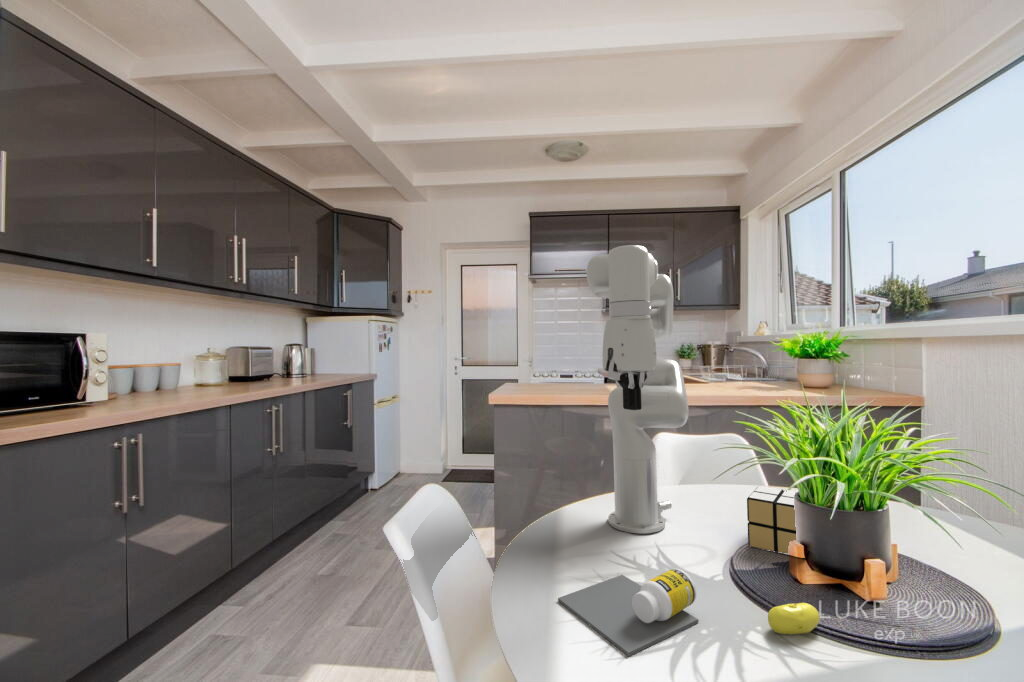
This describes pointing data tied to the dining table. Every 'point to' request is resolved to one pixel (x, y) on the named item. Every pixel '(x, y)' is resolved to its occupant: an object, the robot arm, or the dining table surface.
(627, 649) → the charcoal mat
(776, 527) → the puzzle cube
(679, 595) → the supplement bottle
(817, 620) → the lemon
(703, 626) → the dining table surface
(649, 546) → the dining table surface
